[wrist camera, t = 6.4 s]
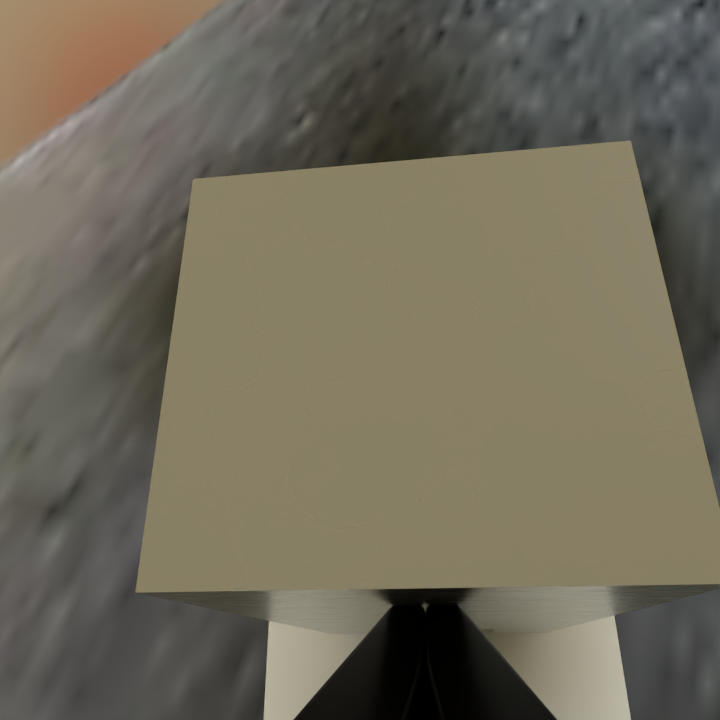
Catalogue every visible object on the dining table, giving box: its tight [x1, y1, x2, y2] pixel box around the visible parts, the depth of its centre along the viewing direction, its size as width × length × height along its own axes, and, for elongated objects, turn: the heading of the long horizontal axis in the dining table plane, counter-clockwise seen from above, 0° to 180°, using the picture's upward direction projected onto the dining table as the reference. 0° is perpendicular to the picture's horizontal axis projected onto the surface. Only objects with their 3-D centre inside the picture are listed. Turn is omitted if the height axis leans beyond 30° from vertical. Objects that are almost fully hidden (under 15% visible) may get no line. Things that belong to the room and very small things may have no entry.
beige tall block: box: [135, 141, 720, 634], centre depth 12 cm, size 5×5×12 cm
